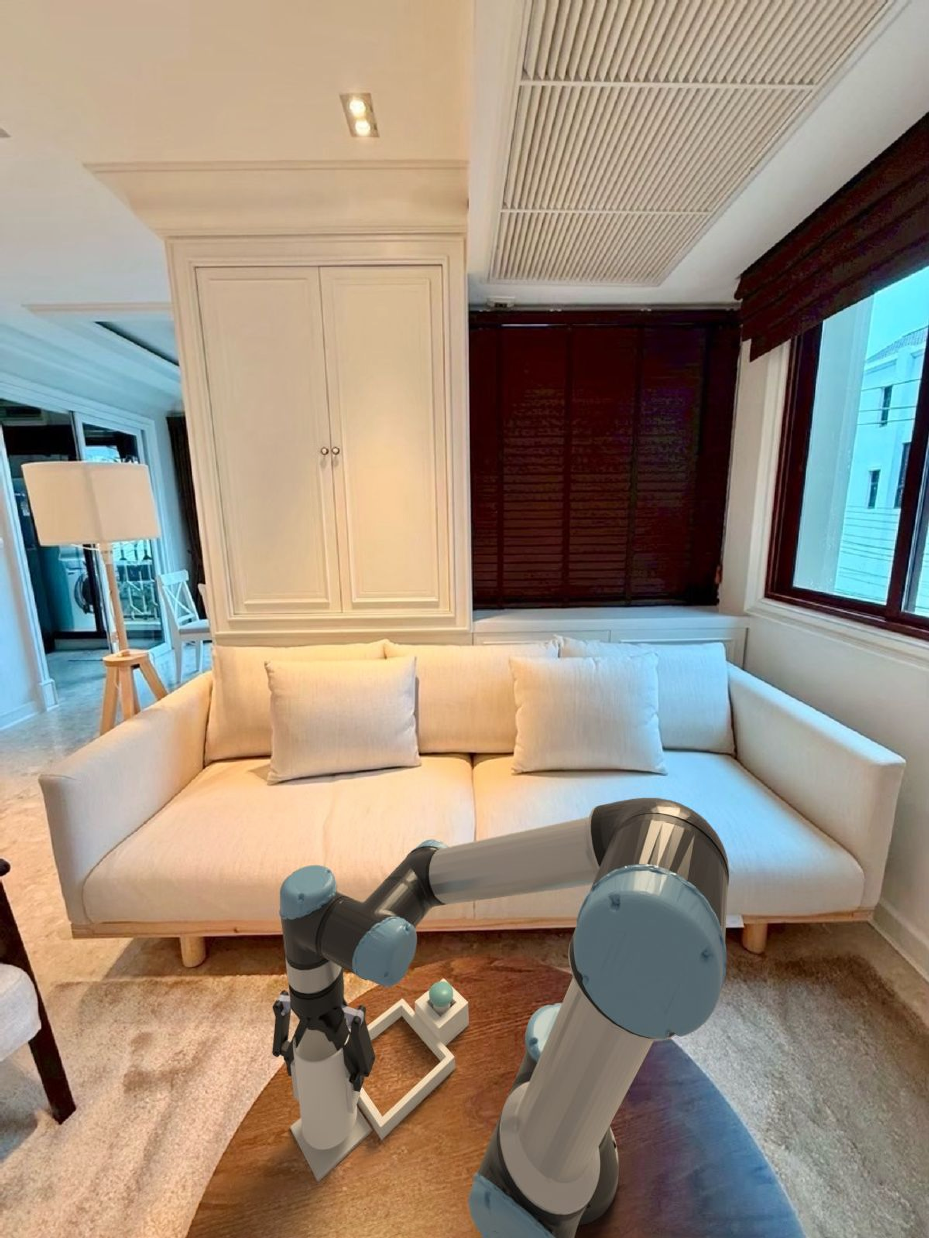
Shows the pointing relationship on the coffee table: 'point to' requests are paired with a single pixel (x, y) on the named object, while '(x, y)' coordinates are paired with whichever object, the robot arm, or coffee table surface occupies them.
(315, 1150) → the pad
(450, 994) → the mint mushroom button
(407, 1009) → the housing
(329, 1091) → the cup
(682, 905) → the robot arm
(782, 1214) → the coffee table surface
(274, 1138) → the coffee table surface
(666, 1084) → the coffee table surface
